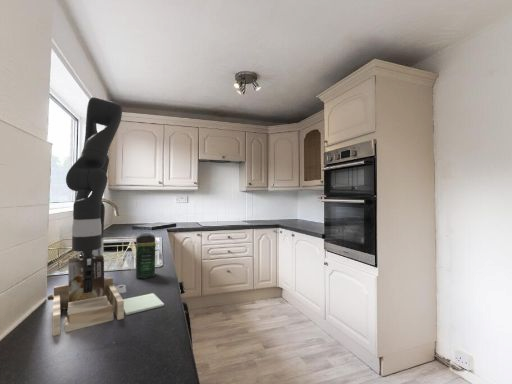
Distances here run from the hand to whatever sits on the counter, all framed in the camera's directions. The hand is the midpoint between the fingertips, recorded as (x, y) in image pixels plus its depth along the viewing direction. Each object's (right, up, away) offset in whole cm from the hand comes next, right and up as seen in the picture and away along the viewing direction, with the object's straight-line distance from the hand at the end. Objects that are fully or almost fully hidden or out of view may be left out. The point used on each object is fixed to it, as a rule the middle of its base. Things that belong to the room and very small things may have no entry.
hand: (86, 288), depth 81 cm
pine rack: (+1, -7, -2) cm, 7 cm away
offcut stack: (+5, -7, -7) cm, 11 cm away
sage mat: (+14, -7, +5) cm, 16 cm away
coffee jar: (+3, -8, +37) cm, 38 cm away
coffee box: (0, -7, 0) cm, 7 cm away
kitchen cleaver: (-8, -8, +14) cm, 18 cm away
